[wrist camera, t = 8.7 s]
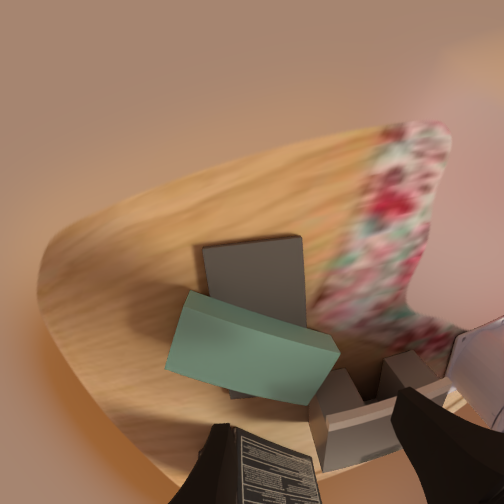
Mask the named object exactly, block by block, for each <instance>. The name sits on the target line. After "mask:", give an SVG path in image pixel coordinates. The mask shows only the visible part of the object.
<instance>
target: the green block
mask: <svg viewBox="0 0 504 504" xmlns="http://www.w3.org/2000/svg"><path fill="white" fill-rule="evenodd" d="M340 354H341V353H340V351H339V349H338V348H337V346H336V344H335V342H334V341H333V339H332V337H331V335H328V334H325V333H321V332H318V331H314V330H311V329H307V328H304V327H301V326H297V325H294V324H291V323H287V322H284V321H281V320H278V319H274V318H271V317H268V316H265V315H262V314H259V313H256V312H252V311H249V310H246V309H243V308H240V307H237V306H234V305H231V304H228V303H226V302H223V301H220V300H217V299H214V298H211V297H208V296H206V295H203V294H200V293H197V292H194V291H192V290H190V292H189V294H188V296H187V299H186V301H185V304H184V306H183V309H182V312H181V315H180V319H179V322H178V325H177V328H176V331H175V335H174V338H173V341H172V345H171V348H170V351H169V355H168V358H167V362H166V365H165V368H164V369H166V370H169V371H172V372H175V373H178V374H181V375H184V376H187V377H190V378H193V379H196V380H199V381H202V382H206V383H209V384H212V385H216V386H219V387H223V388H227V389H230V390H234V391H238V392H242V393H246V394H250V395H254V396H259V397H263V398H268V399H273V400H277V401H282V402H288V403H293V404H299V405H304V406H307V405H308V404H309V402H310V401H311V399H312V398H313V396H314V395H315V393H316V392H317V391H318V389H319V388H320V386H321V385H322V383H323V381H324V380H325V378H326V377H327V375H328V374H329V372H330V371H331V369H332V367H333V366H334V364H335V363H336V361H337V359H338V358H339V356H340Z"/></svg>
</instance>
